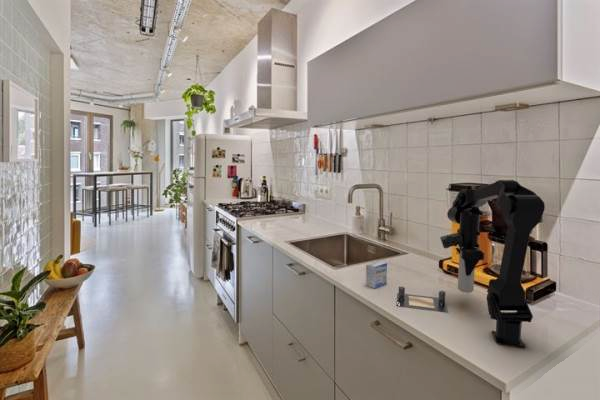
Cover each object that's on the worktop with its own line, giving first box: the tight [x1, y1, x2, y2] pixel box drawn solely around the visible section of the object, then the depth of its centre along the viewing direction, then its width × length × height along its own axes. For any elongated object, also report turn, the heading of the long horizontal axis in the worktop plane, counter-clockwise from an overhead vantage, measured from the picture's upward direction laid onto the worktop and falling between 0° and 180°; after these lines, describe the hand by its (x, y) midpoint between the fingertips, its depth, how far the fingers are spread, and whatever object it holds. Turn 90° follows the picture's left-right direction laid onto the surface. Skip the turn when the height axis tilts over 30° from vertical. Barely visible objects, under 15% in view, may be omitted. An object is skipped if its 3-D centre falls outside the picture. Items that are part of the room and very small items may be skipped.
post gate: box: [396, 286, 450, 314], centre depth 113 cm, size 12×16×5 cm
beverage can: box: [457, 256, 476, 294], centre depth 110 cm, size 5×5×12 cm
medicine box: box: [365, 260, 388, 289], centre depth 129 cm, size 8×4×9 cm, turn 131°
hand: (466, 273), depth 110 cm, fingers closed on beverage can, 5 cm apart
